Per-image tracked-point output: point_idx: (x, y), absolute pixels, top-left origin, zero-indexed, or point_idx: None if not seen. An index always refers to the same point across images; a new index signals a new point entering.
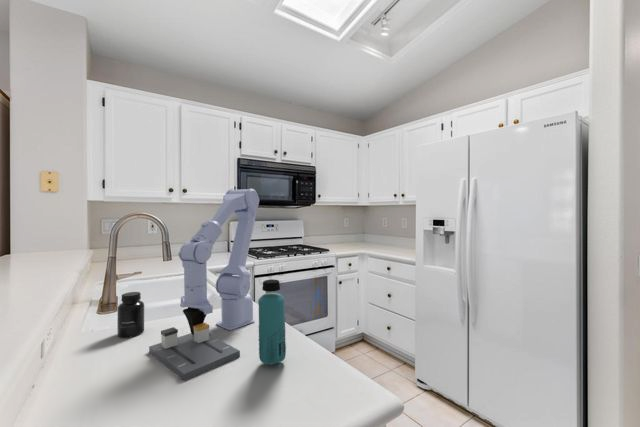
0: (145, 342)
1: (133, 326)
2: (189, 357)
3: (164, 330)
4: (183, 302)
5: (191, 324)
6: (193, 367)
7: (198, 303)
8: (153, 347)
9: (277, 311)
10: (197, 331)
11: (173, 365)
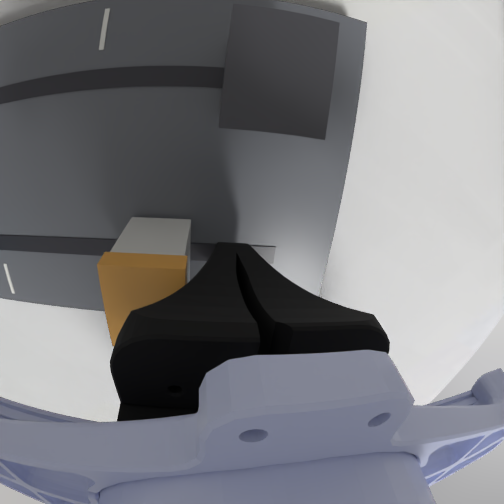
0: (462, 101)
1: None
2: (22, 105)
3: (321, 44)
4: (424, 427)
5: (218, 273)
6: None
7: (98, 500)
8: None
9: None
10: (120, 253)
11: (16, 20)
